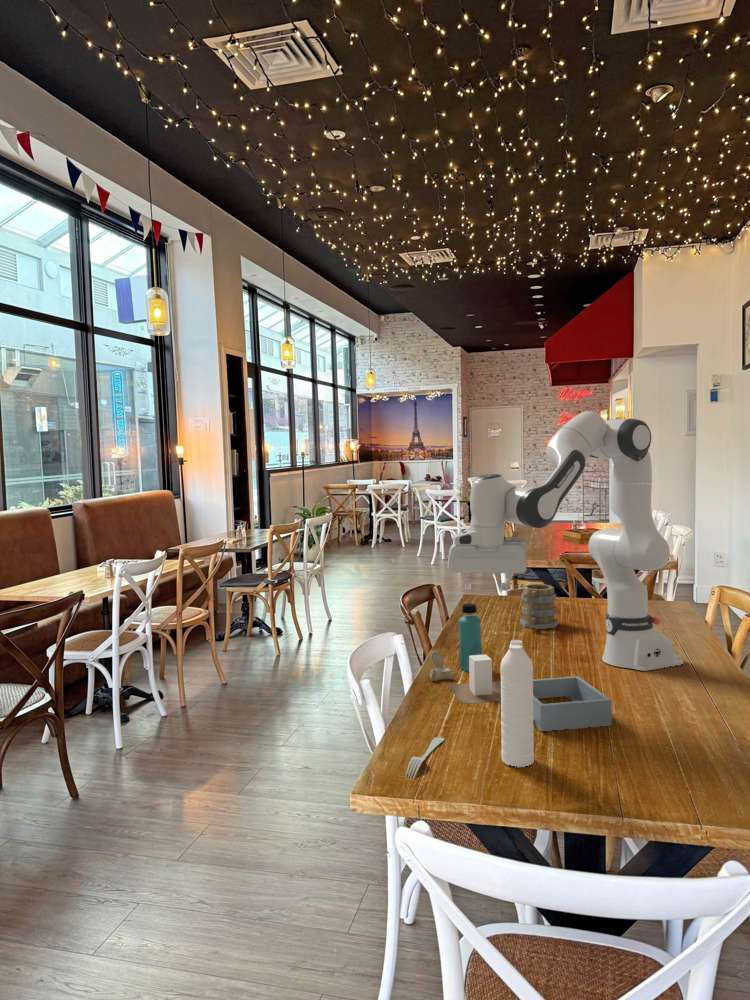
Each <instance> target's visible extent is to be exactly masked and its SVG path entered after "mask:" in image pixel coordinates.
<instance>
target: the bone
mask: <svg viewBox="0 0 750 1000" xmlns="http://www.w3.org/2000/svg"><path fill="white" fill-rule="evenodd" d="M429 658H430V660H431V662H432V663H433V664H434V667H435V668H431V670H430V672H429V678H430V680H431V681H432V682H437V681H440V680H454V673H453V672H452V670H451V669H450V668H449V667H444V658H443V656H442V655H441V654H440V653H438V652H437V651H435V650H432V652H431V654H430V657H429Z"/></svg>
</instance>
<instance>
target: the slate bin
mask: <svg viewBox="0 0 750 1000" xmlns="http://www.w3.org/2000/svg"><path fill="white" fill-rule="evenodd" d="M559 697H567V698H568V699H570V700H571V701H565V702H563V701H562V702H554V703H553V702H552V703H551V702H550V703H543V702H541V701H540V700H539V699H549V698H550V699H551V698H559ZM533 724H534V725H535V726H536V727H537V728H538V729H539V730H540V731H547V732H553V731H552V730H558V731H566V730H565V729H569V730H578V729H579V728H580V729H587V728H588V727H591V728H601V727H600V726H602V727H610V726H612V699H611V698H609V697H608V696H606V695H605V694H604V693H602V692H601V691H599V690H598V689H597V688H596V687H594V686H593V685H591V684H590V683H589V682H587V681H586V680H584V679H583V678H582V677H580V676H579V675H578V676H577V675H574V676H563V677H560V676H559V677H551V678H550V677H549V678H538V679H533ZM535 726H534V727H535ZM536 727H535V728H536ZM537 728H536V729H537ZM538 729H537V730H538ZM580 729H579V730H580ZM539 730H538V731H539ZM540 731H539V732H540Z"/></svg>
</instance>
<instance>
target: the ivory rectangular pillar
mask: <svg viewBox="0 0 750 1000" xmlns="http://www.w3.org/2000/svg"><path fill="white" fill-rule="evenodd" d="M492 667H493V661H492V658H491V657H490V656H488V655H487V654H482V655H470V656H469V672H468V675H469V676H468V677H469V678H468V679H469V680H468V681H469V682H468V683H469V687H470V691H471V692H472V693H473V694H474V695H475V696H478V695H490V694H492V681H493V668H492Z"/></svg>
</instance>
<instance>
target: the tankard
mask: <svg viewBox="0 0 750 1000" xmlns="http://www.w3.org/2000/svg"><path fill="white" fill-rule="evenodd" d="M522 587H523V588H522V590H523V591H522V593H521V596H520V597H521V600H522V601H523V605H522V606H521V613H522V614H523V617H521V619H519V624H520V625H521V626H522V625H523V626H522V627H524V628H525V627H529V628H528V629H532V628H535V629H534V630H548V629H547V628H553V629H554V628H556V627H558V626H559V620H558V619H555V615H556V614H557V606H555V601H557V594H556V593H555V587H554V586H552V585H550V584H543V583H534V584H533V583H532V584H529V583H528V584H525V585H524V586H522ZM557 625H558V626H557Z"/></svg>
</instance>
